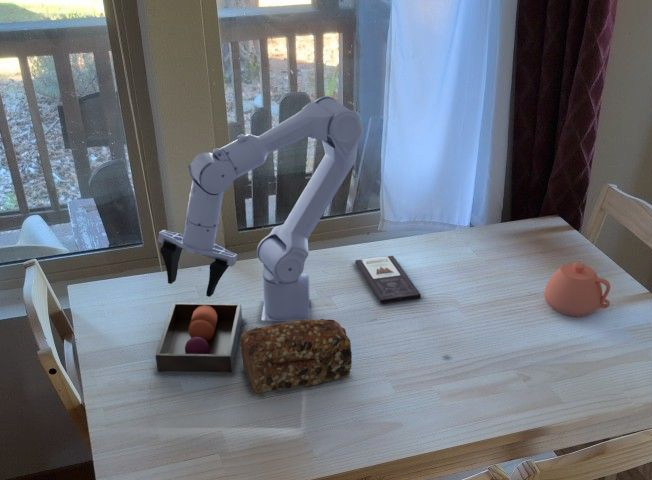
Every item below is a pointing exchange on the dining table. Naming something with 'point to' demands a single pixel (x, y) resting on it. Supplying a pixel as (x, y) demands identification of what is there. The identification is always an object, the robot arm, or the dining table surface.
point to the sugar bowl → (576, 290)
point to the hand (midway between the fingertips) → (190, 288)
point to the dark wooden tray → (220, 345)
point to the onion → (197, 346)
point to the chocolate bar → (387, 279)
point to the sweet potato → (203, 323)
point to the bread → (295, 354)
